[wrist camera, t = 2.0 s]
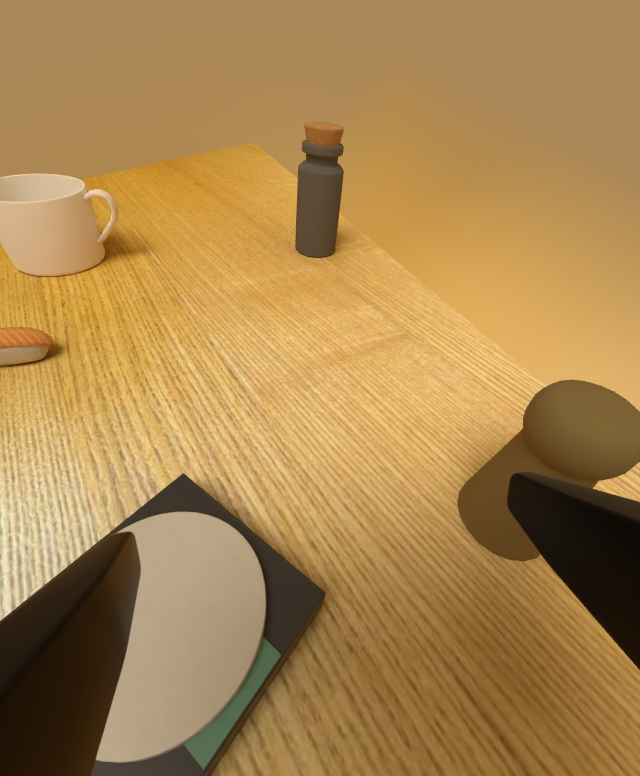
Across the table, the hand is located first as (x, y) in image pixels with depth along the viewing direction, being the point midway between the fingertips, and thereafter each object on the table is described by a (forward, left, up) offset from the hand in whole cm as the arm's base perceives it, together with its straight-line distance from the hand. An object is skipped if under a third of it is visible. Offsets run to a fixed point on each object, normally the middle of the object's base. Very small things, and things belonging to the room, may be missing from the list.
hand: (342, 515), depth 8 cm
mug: (+48, -14, -14) cm, 52 cm away
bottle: (+29, -39, -14) cm, 51 cm away
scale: (+6, +3, -14) cm, 16 cm away
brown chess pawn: (-6, -14, -14) cm, 21 cm away
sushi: (+33, -1, -14) cm, 36 cm away
